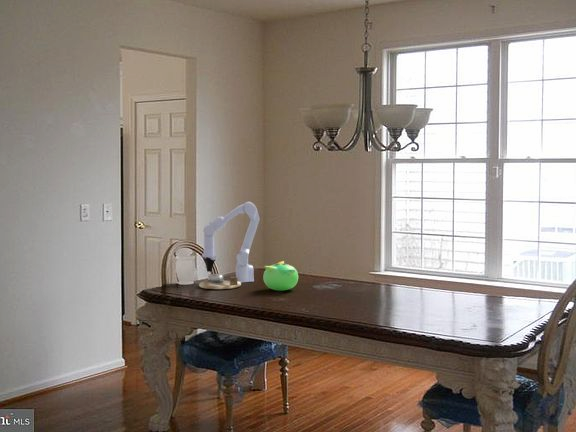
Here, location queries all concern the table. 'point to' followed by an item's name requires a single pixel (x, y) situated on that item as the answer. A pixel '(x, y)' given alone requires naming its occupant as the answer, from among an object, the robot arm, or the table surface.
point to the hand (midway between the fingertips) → (209, 271)
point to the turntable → (221, 284)
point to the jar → (185, 269)
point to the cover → (215, 278)
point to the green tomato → (280, 276)
